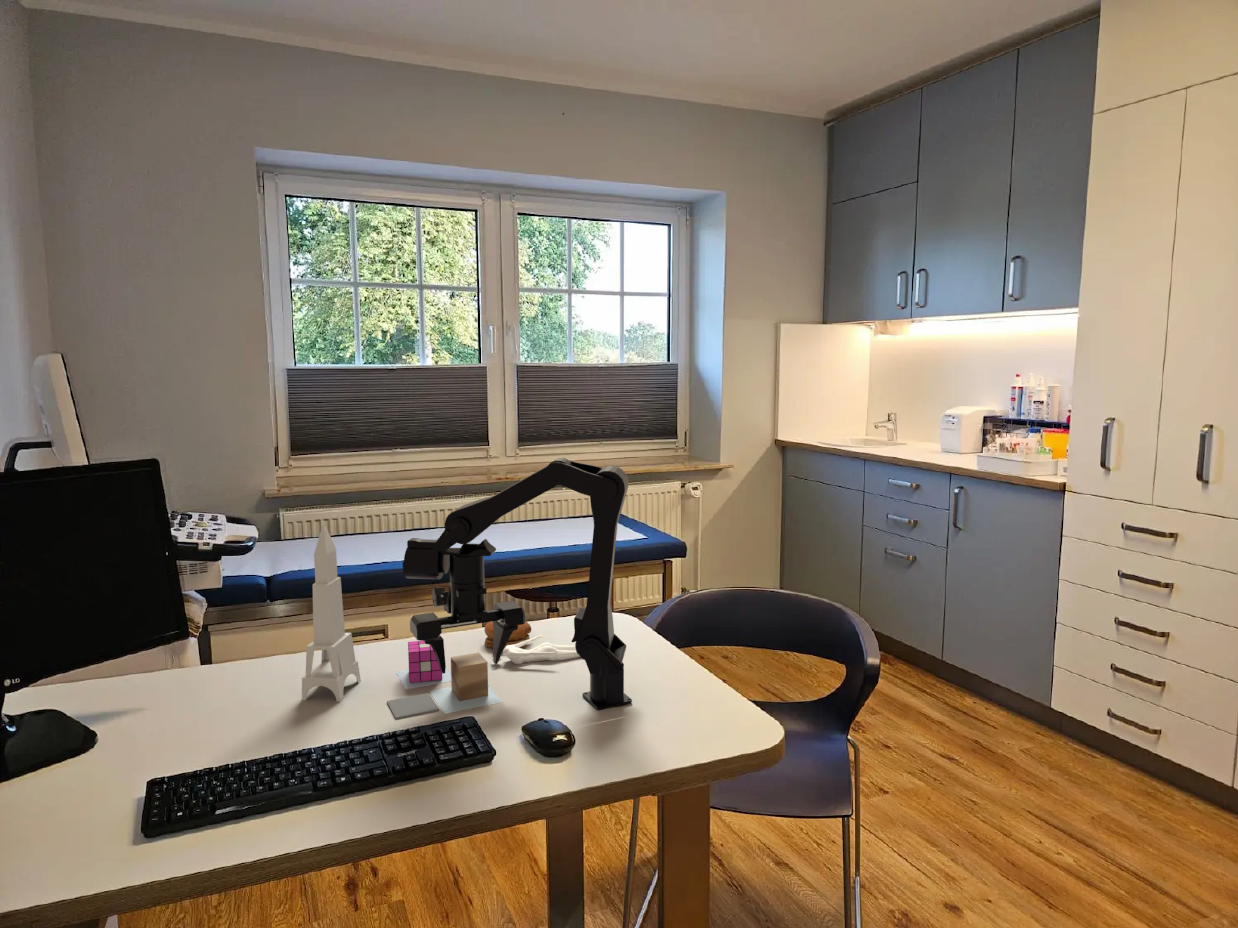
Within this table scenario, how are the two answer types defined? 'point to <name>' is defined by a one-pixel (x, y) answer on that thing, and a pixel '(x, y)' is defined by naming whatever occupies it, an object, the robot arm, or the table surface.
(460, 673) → the walnut block
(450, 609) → the robot arm
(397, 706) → the pad
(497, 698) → the code card
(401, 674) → the code card
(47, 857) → the table surface
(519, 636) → the burger
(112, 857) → the table surface
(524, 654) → the figurine
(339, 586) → the sculpture
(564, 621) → the table surface
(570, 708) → the table surface
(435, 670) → the puzzle toy
